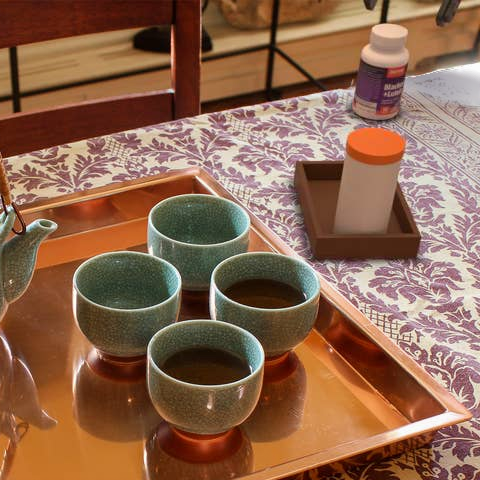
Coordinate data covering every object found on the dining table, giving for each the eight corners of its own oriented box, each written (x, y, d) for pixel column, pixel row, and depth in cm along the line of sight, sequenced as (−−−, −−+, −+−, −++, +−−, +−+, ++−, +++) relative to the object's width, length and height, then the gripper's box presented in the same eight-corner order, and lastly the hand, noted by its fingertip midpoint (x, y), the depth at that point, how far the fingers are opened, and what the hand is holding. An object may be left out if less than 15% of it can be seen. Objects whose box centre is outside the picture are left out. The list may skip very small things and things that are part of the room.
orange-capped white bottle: (380, 219, 93) (398, 127, 86) (391, 249, 89) (412, 155, 82) (327, 219, 93) (342, 127, 86) (336, 249, 89) (352, 155, 82)
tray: (293, 181, 99) (295, 160, 98) (385, 180, 99) (389, 159, 98) (313, 259, 89) (317, 237, 87) (416, 258, 89) (421, 236, 87)
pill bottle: (384, 125, 108) (399, 44, 102) (343, 112, 111) (356, 31, 105) (406, 109, 111) (423, 28, 105) (366, 96, 114) (380, 16, 108)
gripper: (397, -149, 105) (338, -14, 106) (524, -130, 99) (461, 13, 100) (406, -109, 112) (351, 17, 113) (526, -89, 106) (467, 44, 107)
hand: (403, 15), depth 106 cm, fingers open, 8 cm apart
